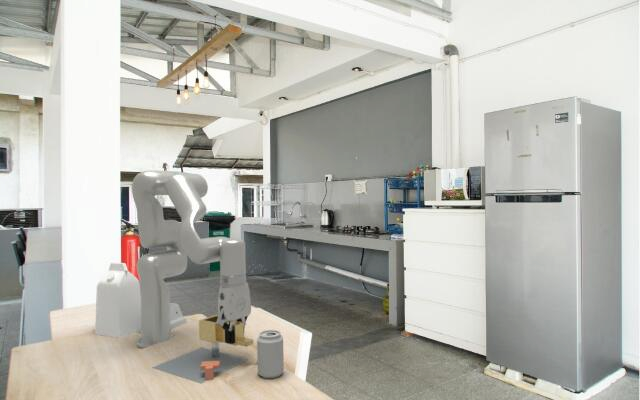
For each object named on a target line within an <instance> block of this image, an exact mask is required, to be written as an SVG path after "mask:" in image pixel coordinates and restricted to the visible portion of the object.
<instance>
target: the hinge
mask: <svg viewBox="0 0 640 400" xmlns="http://www.w3.org/2000/svg"><path fill="white" fill-rule="evenodd" d="M187 323H188V321H187V317H185V316H183V312H182V310H181V308H180V306H179V303H173V302H170V325H171V330H172V329H174V328H177V327H180V326H181V325H184V324H187Z"/></svg>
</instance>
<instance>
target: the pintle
mask: <svg viewBox="0 0 640 400" xmlns="http://www.w3.org/2000/svg"><path fill="white" fill-rule="evenodd" d="M220 348H221V347H220V342H219V343H216V344H215V343H211V350H212V357H219V356H220V352H221V351H220V350H221V349H220Z"/></svg>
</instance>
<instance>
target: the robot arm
mask: <svg viewBox="0 0 640 400" xmlns="http://www.w3.org/2000/svg"><path fill="white" fill-rule="evenodd" d="M208 188H209V186H208V182H207V180H206V178H205V177H204V176H203V175H201V174H198V173H192V172H182V171H176V170H175V171H172V170H143V171H141V172H139V173H137V174H136V175H135V176H134V178H133V180H132V186H131V194H132V199H133V201H134V206H135V209H136V215H137V216H136V217H137V226H138V227H137V228H138V230H137V231H138V237H139V244H140V245H141V246H142V247H143V249H157V248H166V250H160V251H153V252H152V251H151V252H149V253H145V254H143V255H142V256H141V257H139V258H138V261H137V262H136V271H137V276H138V280H139V283H140V294H141V329H140V330H138V331H136V333H137V334H139V335H140V338H139V339H138V340H137V341H136V345H137V347H139V348H141V349H145V348H147V347H150V346H154V345H155V344H156V345H157V344H159V343H162V342H166V341H168V340H170V339H172V338H175V337H176V336H175V335H174V334H172V332H171V331H172V329H171V325H170V303H171V294H170V287H169V286H168V285H167V283H166V281H165V279H166V278H172V277H176V276H180V275H182V274H183V273H185V272H186V270H187V268H188V259H190V260H191V262H192V263H194V264H196V265H205V264H211V263H216V262H219V267H220V270H219V271H220V272H219V273H220V275H219V276H220V277H219V278H220V279H219V281H218V282H219V284H220V286H219V288H218V289H219V290H218V295H217V297H218V298H217V315H218V319H217V322H216V324H217V325H220V326H221V327H222V328H223V330H225V342H226V343H229V344H228V345H230V344H234V330H232V328H233V321H239V322H244V327H245V326H246V324H247V323H246V321H247V319H248V317H249V316H250V315H251V313H252V301H251V291H250V287H249V283H248V282H247V270H246V269H247V268H246V267H247V266H246V263H247V262H246V242H245V240H243V239H242V238H229V237H226V236H215V237H214V236H213V237H205V238H201V237H200V236H199V234H198V233H197V231H196V228H195V226H194V225H195V223H196V222H198V221H200V220H201V219H202V218H203V217H204V216H205V214H206V212H207V210H208V209H207V206H206V204H205V203H204V201H203V200H202V198H204V197H205V196H206V195H207V194H208V190H209V189H208ZM156 196H168V197H169V199H170V202H171V203H172V205H173V206H174V208H175V210H176V212H177V214H178V215H179V217H180V218H181V221H178V220H176V219H165V218H164V210H163V209H164V208H163V206H162V204H161V202H160V201H159V200H158V198H157V197H156ZM223 319H224V320H223ZM227 322H229V325H228V324H227ZM226 343H225V344H226Z"/></svg>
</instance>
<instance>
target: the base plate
mask: <svg viewBox="0 0 640 400" xmlns="http://www.w3.org/2000/svg"><path fill="white" fill-rule="evenodd" d="M205 361H220V367H219V369H213V375H214V377H213V378H215V377H216V376H218V375H221V374H224V373H225V372H226V371H230V369H233V368H235V367H237V366H238V365H241V364H243V363H245V362H247V361H249V359H248V358H244V357H240V356H237V355H232V354H229V353H226V352H221V351H220V356H219V357H212V349H209V348H207V347H199V348H196V349H194V350H192V351H189V352H187V353H185V354H184V353H183V354H182V355H179V356H177V357H174V358H172V359H169V360H167V361H164V362H161V363H160V364H157V365H155V366H153V367H152V369H154V370H159V371H161V372H164V373H168V374H170V375H174V376H176V377H179V378H183V379H186V380H189V381H192V382H195V383H199V384H203V383H204V382H207V381H208V380H205V370H200V366H201V363H202V362H205Z"/></svg>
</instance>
